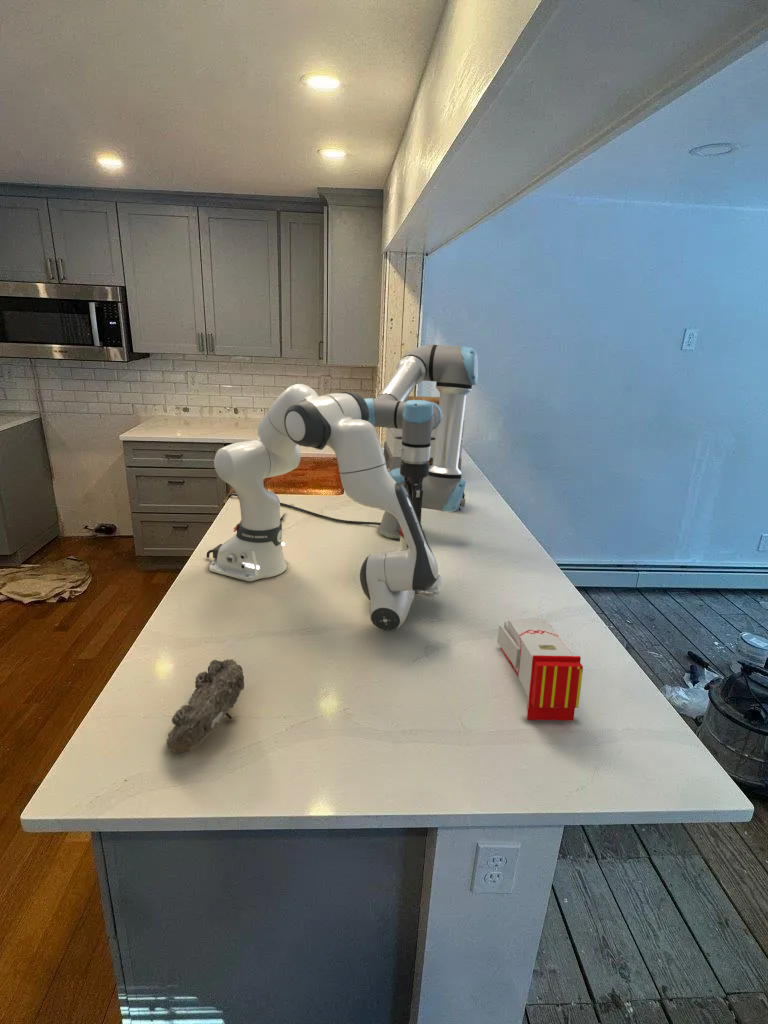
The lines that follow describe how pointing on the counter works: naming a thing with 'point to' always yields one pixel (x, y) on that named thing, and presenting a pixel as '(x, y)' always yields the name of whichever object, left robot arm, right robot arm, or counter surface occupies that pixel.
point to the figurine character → (462, 502)
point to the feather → (281, 518)
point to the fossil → (206, 705)
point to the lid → (401, 532)
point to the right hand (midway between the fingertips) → (409, 542)
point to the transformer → (395, 441)
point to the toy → (542, 668)
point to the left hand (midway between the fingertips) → (408, 568)
